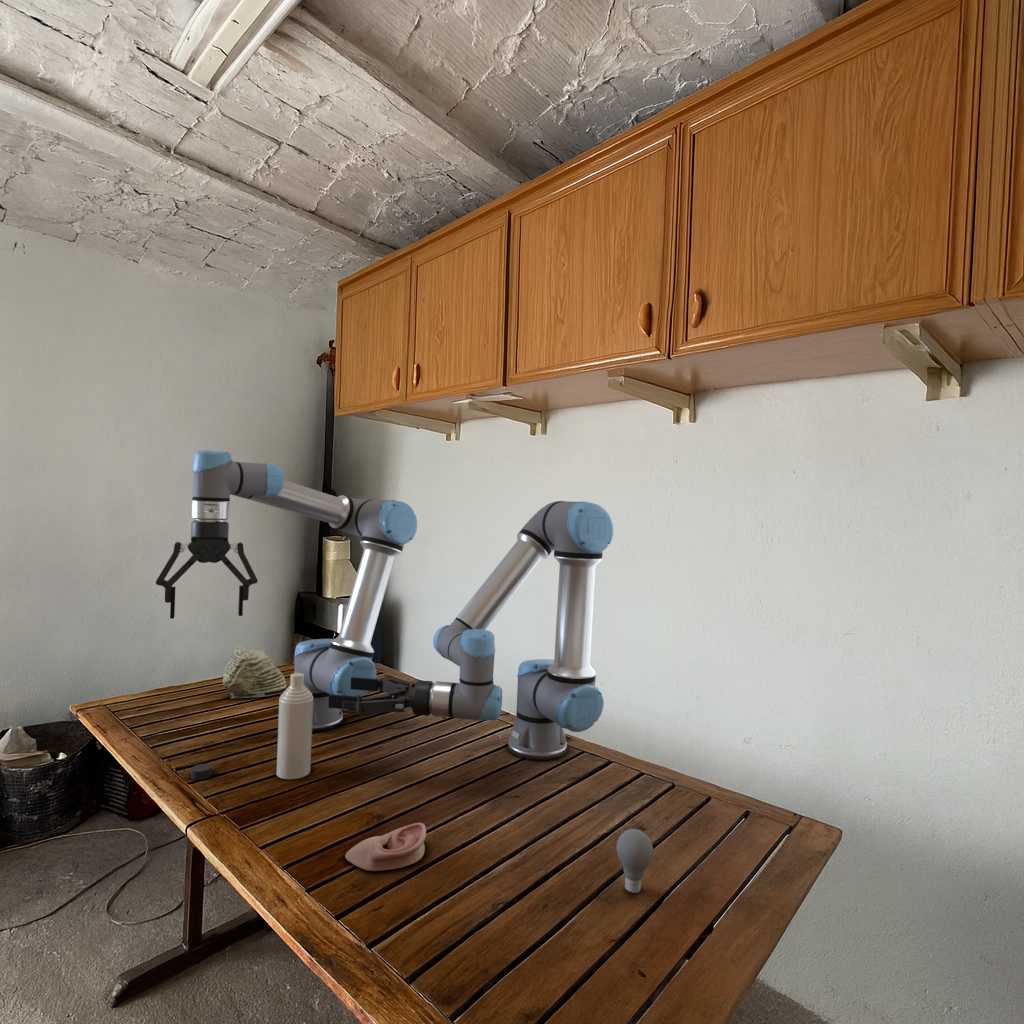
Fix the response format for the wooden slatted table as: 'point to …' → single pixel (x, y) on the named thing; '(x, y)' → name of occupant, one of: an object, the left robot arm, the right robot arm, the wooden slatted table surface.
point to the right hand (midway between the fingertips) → (340, 691)
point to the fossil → (252, 674)
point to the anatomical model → (390, 849)
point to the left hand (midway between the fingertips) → (207, 616)
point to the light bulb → (634, 857)
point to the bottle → (294, 730)
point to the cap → (201, 771)
